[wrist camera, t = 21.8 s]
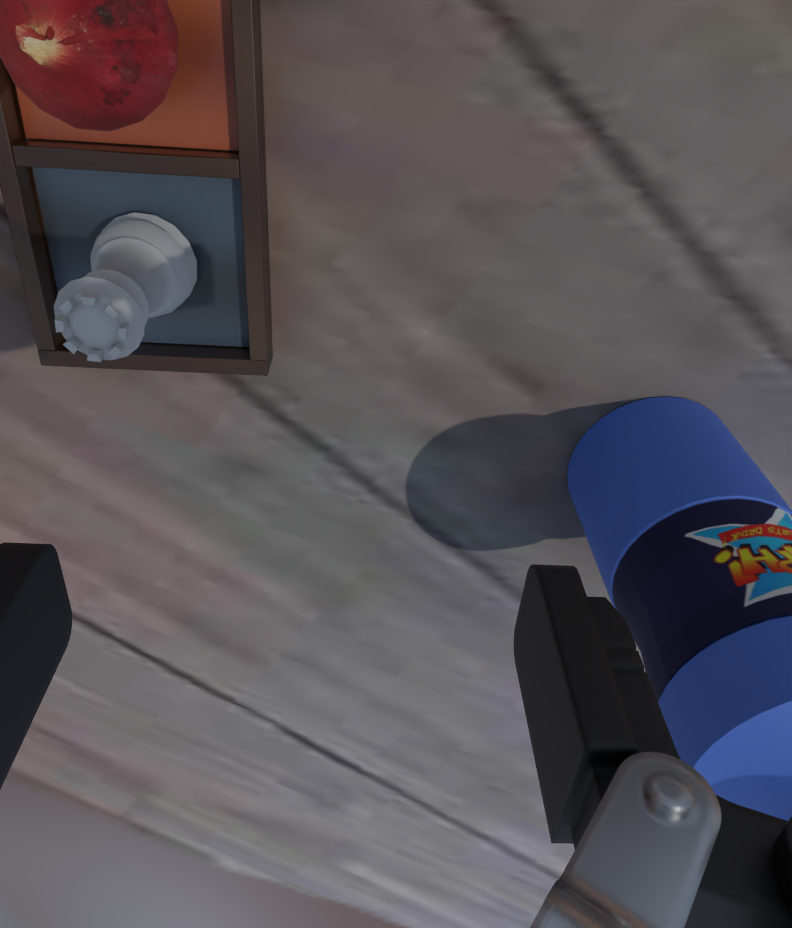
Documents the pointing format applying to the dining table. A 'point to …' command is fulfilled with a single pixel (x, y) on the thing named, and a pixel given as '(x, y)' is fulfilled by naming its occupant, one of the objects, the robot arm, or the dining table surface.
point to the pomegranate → (90, 57)
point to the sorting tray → (156, 197)
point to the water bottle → (698, 586)
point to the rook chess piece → (125, 286)
